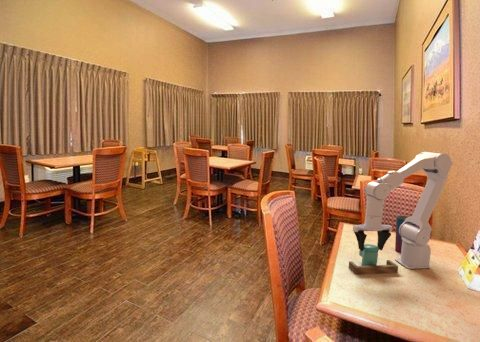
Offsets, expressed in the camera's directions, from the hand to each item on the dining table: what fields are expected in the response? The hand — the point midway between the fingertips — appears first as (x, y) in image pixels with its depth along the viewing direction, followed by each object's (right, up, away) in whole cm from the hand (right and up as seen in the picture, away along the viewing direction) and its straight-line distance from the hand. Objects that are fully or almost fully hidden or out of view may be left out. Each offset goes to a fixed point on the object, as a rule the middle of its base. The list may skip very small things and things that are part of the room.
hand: (370, 249), depth 111 cm
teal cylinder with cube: (0, -7, +2) cm, 7 cm away
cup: (+21, -5, +17) cm, 27 cm away
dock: (0, -7, -1) cm, 7 cm away
